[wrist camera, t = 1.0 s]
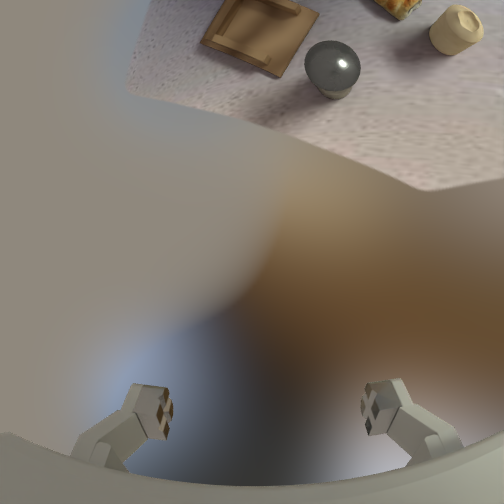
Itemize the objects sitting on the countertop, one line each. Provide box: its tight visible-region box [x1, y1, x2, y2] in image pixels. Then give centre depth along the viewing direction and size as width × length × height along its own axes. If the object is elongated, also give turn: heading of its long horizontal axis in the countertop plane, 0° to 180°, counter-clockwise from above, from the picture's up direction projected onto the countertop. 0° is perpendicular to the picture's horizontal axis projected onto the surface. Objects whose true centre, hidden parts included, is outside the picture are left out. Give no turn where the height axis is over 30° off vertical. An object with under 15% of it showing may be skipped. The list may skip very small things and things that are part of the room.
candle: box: [429, 5, 483, 55], centre depth 24 cm, size 6×6×10 cm
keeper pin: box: [304, 41, 361, 99], centre depth 31 cm, size 6×6×12 cm
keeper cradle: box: [200, 0, 319, 78], centre depth 34 cm, size 14×12×3 cm
